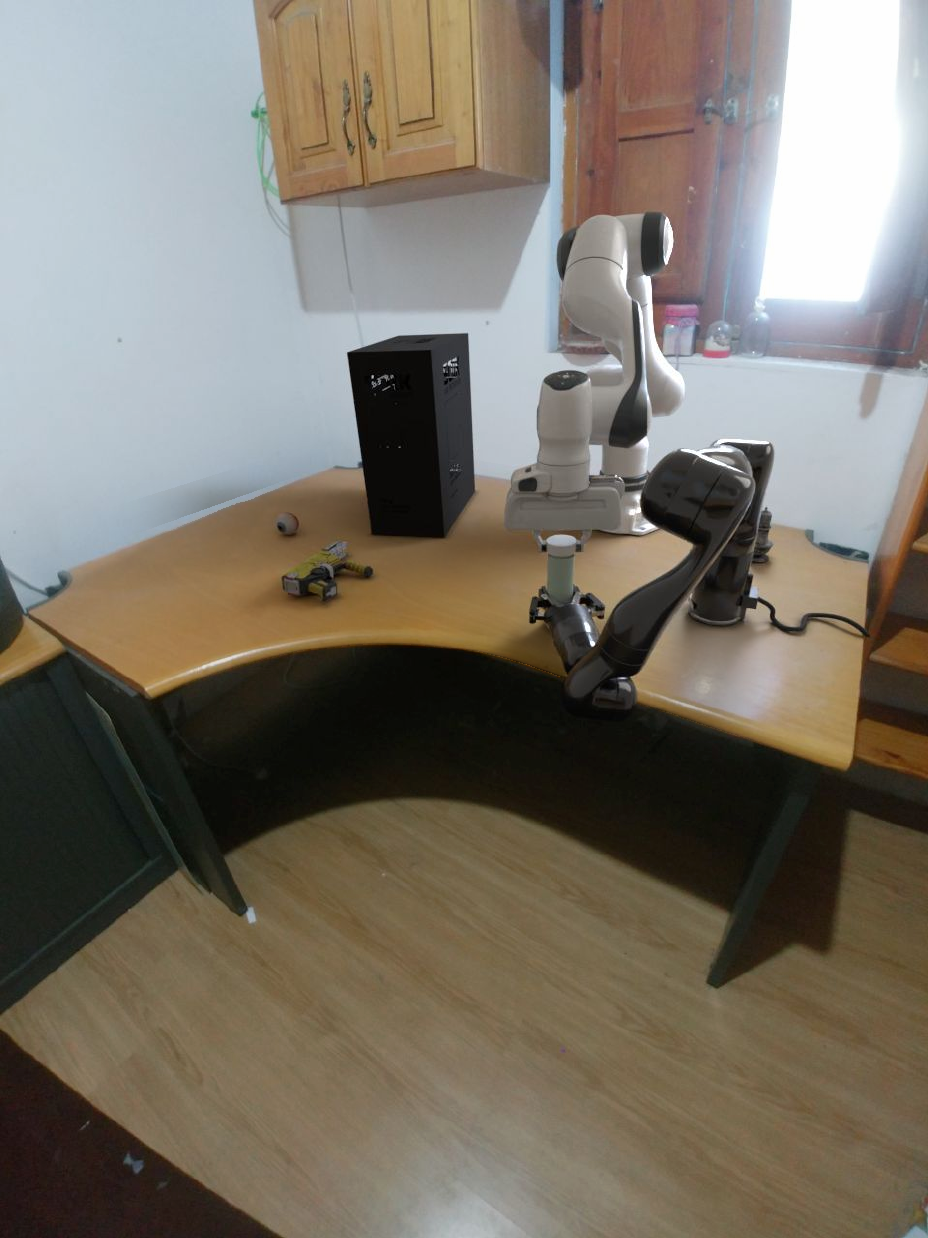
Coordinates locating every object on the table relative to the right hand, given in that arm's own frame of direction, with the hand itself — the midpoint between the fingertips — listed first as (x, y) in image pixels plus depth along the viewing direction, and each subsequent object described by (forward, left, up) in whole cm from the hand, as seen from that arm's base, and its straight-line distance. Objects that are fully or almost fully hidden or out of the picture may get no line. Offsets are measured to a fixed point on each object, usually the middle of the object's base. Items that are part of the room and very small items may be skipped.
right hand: (557, 589), depth 115 cm
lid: (0, +3, +11) cm, 11 cm away
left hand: (0, +3, +9) cm, 9 cm away
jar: (0, +3, -6) cm, 7 cm away
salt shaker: (-50, -21, -6) cm, 54 cm away
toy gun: (+46, -25, -6) cm, 53 cm away
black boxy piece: (+26, -66, -6) cm, 71 cm away
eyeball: (+64, -55, -6) cm, 84 cm away
